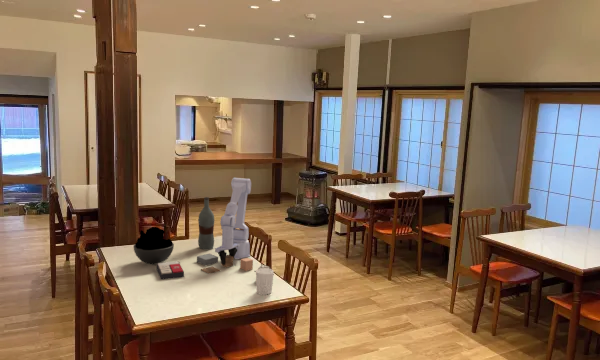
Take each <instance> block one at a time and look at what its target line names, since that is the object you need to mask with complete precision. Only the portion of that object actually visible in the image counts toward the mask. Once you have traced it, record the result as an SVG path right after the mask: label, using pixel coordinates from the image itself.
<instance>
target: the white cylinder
mask: <svg viewBox="0 0 600 360" xmlns="http://www.w3.org/2000/svg"><path fill="white" fill-rule="evenodd" d="M255 271H256V272H255V282H256V283H255V285H256V293H257V294H259V295H261V294H262V295H263V296H266V295H267V294H268V295H270V294H272V290H273V284H274V275H273V274H274V273H275V272H274V270H273V269H271V268H270V269H269V268H260V269H256V270H255Z"/></svg>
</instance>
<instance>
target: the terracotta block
mask: <svg viewBox="0 0 600 360" xmlns="http://www.w3.org/2000/svg"><path fill="white" fill-rule="evenodd" d="M253 266H254V259H252V258H249V257H245V258H240V268H239V269H240V270H242V269H243V270H242V271H244V272H246V271H251V270H253Z"/></svg>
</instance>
